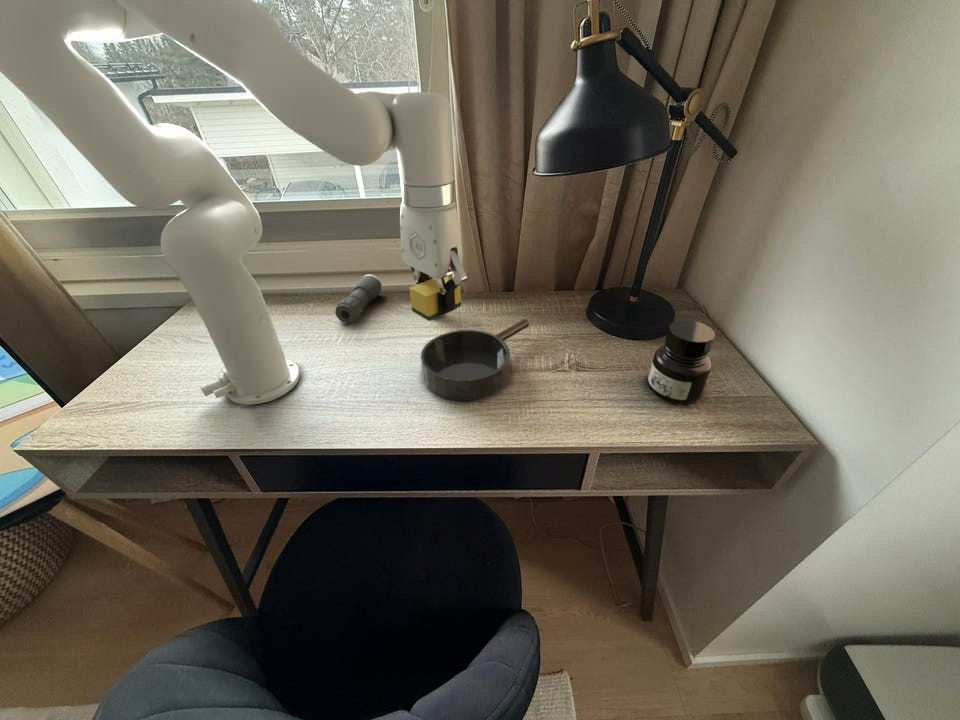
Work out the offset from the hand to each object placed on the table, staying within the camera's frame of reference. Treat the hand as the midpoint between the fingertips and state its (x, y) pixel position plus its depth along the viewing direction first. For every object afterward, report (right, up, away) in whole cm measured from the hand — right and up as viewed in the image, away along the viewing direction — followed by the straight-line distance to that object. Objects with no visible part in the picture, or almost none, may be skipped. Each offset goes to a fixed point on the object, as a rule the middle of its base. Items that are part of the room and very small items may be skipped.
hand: (436, 305), depth 71 cm
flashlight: (-21, +3, +30) cm, 37 cm away
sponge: (0, 0, 0) cm, 1 cm away
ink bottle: (+41, -14, +3) cm, 44 cm away
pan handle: (+14, -4, +14) cm, 20 cm away
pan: (+5, -12, +8) cm, 15 cm away
